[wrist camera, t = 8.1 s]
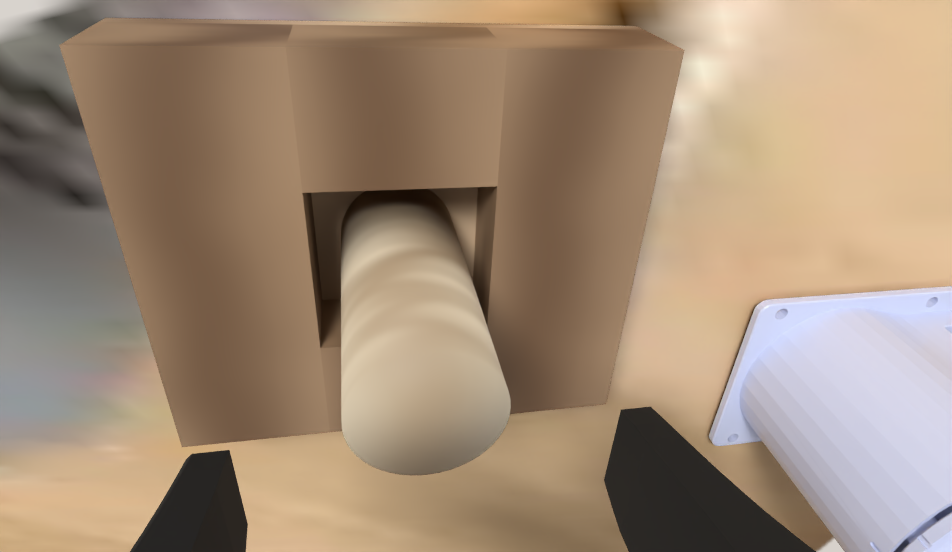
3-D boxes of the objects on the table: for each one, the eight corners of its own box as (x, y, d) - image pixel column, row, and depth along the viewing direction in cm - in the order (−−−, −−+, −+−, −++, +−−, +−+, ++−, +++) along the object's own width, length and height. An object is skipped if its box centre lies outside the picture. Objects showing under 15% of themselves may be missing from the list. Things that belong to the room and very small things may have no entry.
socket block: (636, 26, 18) (684, 50, 15) (578, 349, 24) (606, 404, 22) (105, 17, 15) (59, 45, 13) (200, 381, 22) (182, 447, 19)
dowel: (452, 178, 19) (514, 342, 12) (452, 275, 20) (506, 463, 14) (334, 185, 18) (332, 362, 11) (346, 284, 20) (350, 485, 13)
